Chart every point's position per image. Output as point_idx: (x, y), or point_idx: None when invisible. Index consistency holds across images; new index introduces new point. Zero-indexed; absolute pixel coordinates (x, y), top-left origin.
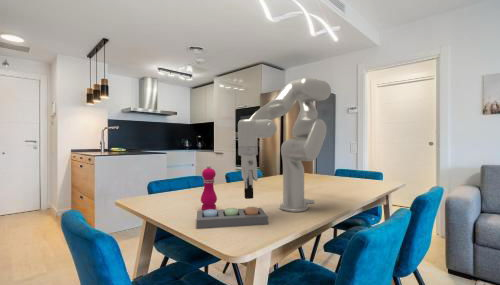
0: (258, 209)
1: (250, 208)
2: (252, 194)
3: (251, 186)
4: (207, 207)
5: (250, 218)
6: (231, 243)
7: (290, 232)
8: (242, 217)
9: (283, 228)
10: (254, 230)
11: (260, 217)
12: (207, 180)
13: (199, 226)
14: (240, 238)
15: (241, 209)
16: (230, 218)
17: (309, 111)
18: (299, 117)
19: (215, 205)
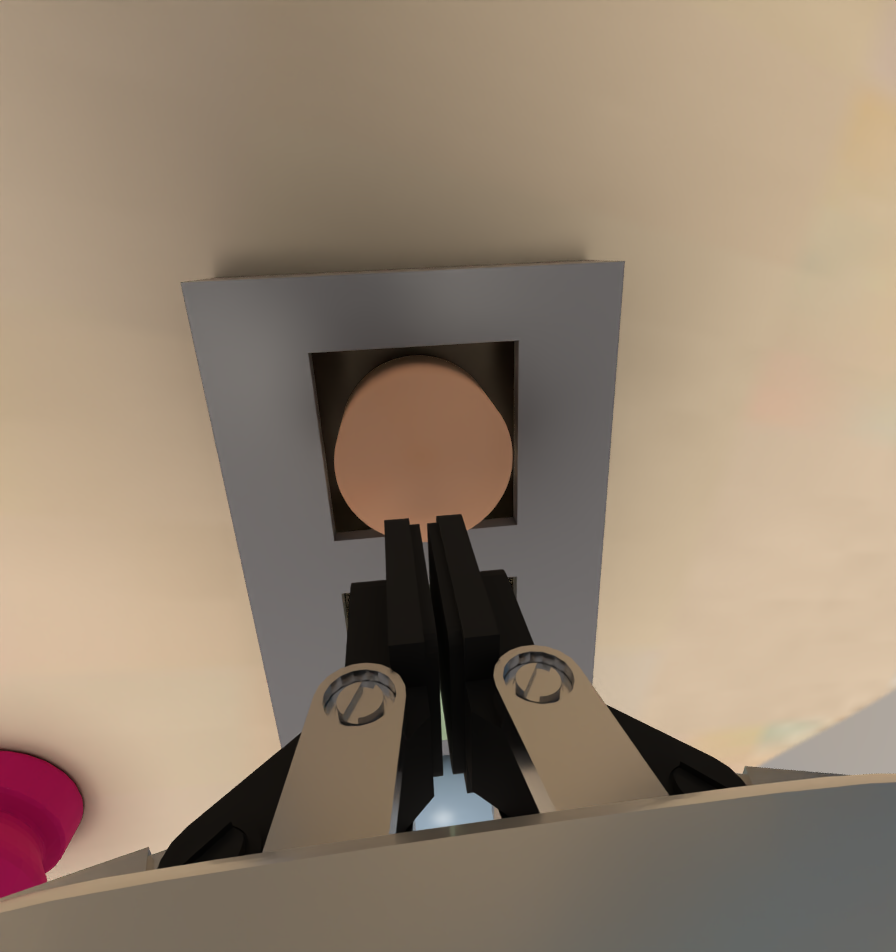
0: (284, 335)
1: (420, 479)
2: (472, 560)
3: (642, 730)
4: (67, 836)
5: (603, 475)
6: (880, 602)
7: (892, 59)
8: (595, 558)
9: (758, 104)
10: (712, 429)
11: (614, 363)
12: None
13: None
14: (828, 547)
15: (279, 554)
16: (592, 658)
17: None
18: None
19: None
